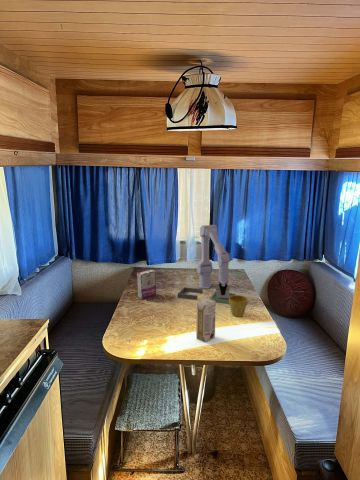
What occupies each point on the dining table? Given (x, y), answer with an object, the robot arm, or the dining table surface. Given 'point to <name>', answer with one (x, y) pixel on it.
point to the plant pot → (238, 305)
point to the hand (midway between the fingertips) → (223, 293)
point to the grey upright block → (218, 293)
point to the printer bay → (181, 295)
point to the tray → (221, 300)
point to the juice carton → (205, 320)
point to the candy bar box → (146, 284)
